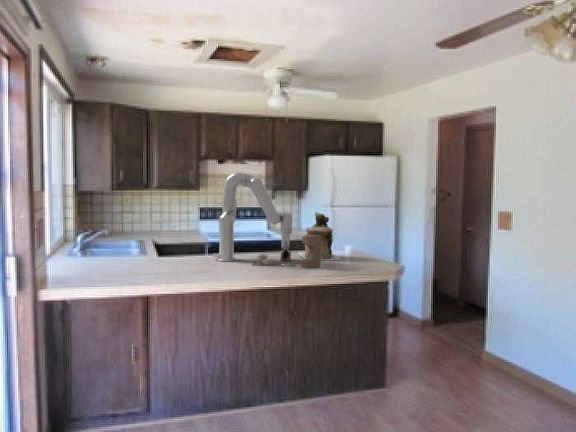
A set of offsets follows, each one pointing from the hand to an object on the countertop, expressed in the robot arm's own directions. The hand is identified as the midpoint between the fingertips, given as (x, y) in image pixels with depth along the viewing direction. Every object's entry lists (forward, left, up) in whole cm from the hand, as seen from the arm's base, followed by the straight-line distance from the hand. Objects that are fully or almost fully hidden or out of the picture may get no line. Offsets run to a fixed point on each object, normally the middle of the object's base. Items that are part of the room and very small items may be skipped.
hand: (285, 256), depth 331 cm
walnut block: (0, 0, -3) cm, 3 cm away
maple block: (-15, -14, -3) cm, 21 cm away
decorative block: (+16, -21, -3) cm, 27 cm away
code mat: (-7, -14, -3) cm, 16 cm away
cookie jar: (+23, +13, -3) cm, 27 cm away
